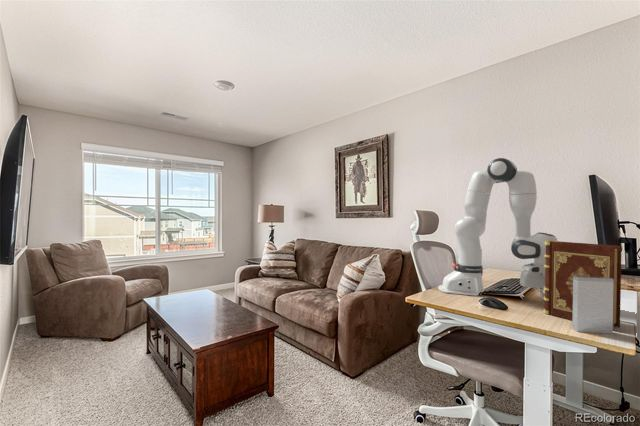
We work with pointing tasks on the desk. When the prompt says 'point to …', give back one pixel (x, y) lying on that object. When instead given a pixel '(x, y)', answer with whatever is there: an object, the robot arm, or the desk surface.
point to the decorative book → (578, 274)
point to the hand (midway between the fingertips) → (544, 297)
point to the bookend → (593, 304)
